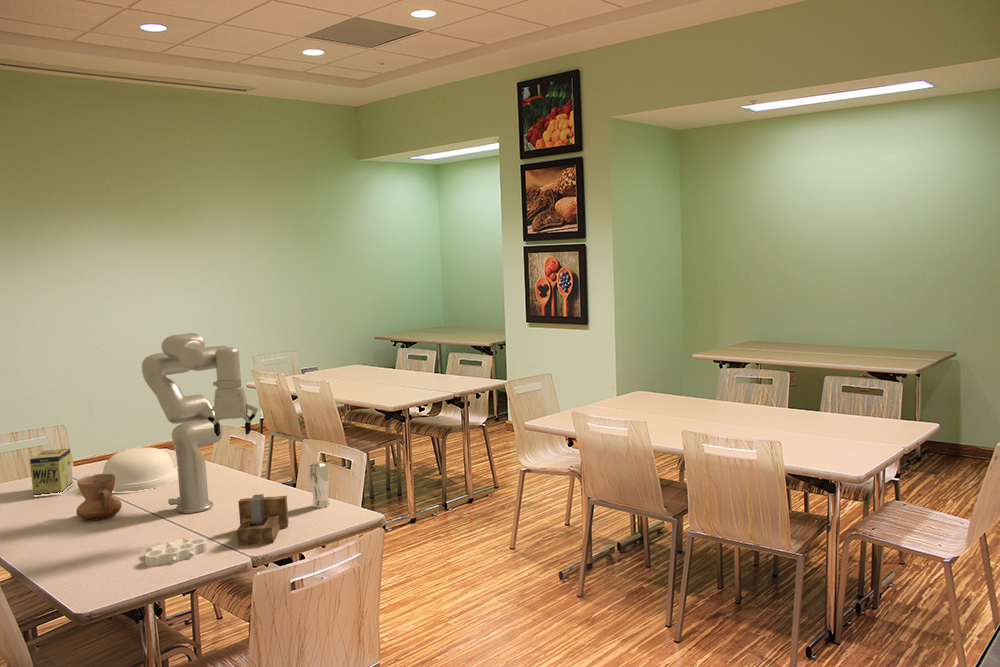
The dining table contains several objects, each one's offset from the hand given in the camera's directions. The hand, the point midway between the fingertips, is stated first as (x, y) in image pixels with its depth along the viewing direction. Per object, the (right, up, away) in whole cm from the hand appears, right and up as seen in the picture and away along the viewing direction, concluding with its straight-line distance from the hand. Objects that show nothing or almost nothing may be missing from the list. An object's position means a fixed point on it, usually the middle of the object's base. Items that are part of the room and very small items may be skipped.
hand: (233, 434), depth 265 cm
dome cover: (-58, -28, +59) cm, 87 cm away
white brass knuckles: (-9, -34, -26) cm, 44 cm away
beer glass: (+26, -28, +17) cm, 42 cm away
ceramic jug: (-52, -32, +15) cm, 63 cm away
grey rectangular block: (+13, -30, -13) cm, 35 cm away
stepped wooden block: (+13, -31, -11) cm, 35 cm away
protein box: (-90, -30, +51) cm, 107 cm away
